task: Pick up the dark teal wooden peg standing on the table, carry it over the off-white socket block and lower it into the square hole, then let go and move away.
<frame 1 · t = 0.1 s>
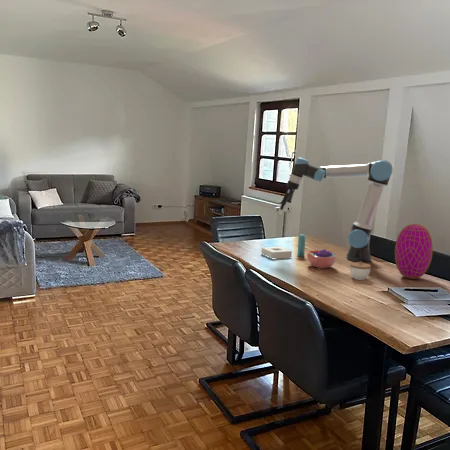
hand: (281, 212, 301), 28 cm above the table, fingers open, 13 cm apart
decorative egg: (410, 278, 261), on the table
lidded jar: (359, 278, 256), on the table
socket block: (276, 256, 302), on the table
peg: (300, 256, 305), on the table
cell model: (321, 267, 278), on the table
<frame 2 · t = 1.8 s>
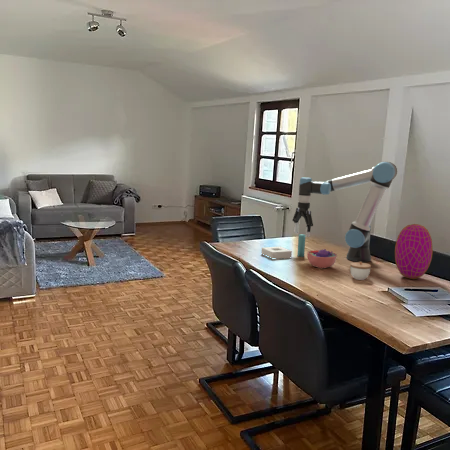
hand: (301, 234, 303), 14 cm above the table, fingers open, 13 cm apart
nothing on the table moved.
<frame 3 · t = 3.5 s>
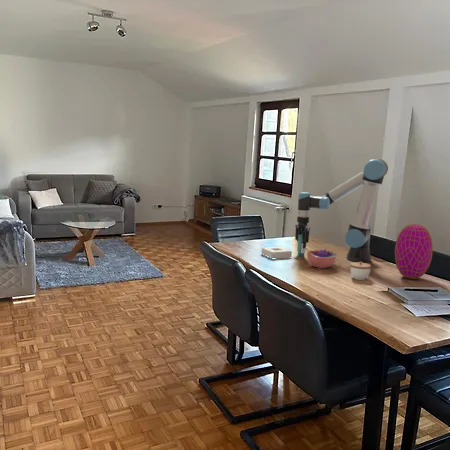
hand: (301, 252, 305), 3 cm above the table, fingers closed on peg, 4 cm apart
peg: (300, 256, 305), on the table, touching gripper
everything else where it was.
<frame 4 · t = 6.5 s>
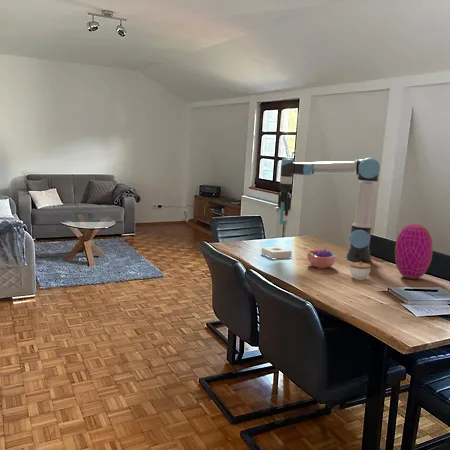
hand: (283, 219, 299), 24 cm above the table, fingers closed on peg, 4 cm apart
peg: (282, 223, 300), point 21 cm above the table, touching gripper
everything else where it was.
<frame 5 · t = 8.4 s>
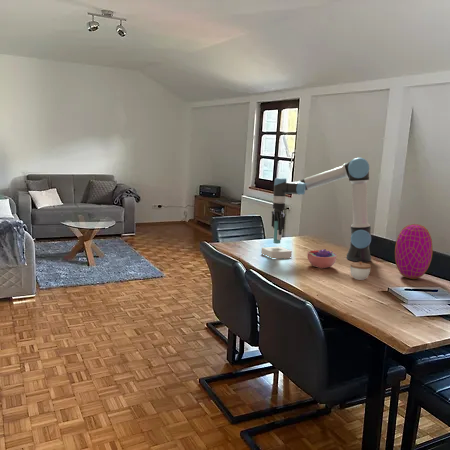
hand: (277, 238, 300), 11 cm above the table, fingers closed on peg, 4 cm apart
peg: (276, 242, 301), point 9 cm above the table, touching gripper
everything else where it was.
when the fingers open (6 cm above the table, at t = 9.7 s): peg drops 3 cm, resting in socket block.
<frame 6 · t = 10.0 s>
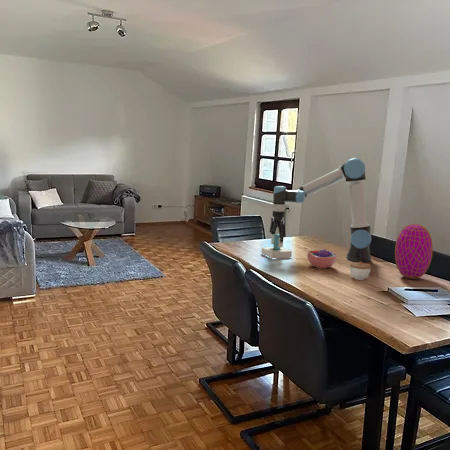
hand: (276, 245, 301), 7 cm above the table, fingers open, 9 cm apart
peg: (276, 256, 302), resting in socket block
everything else where it was.
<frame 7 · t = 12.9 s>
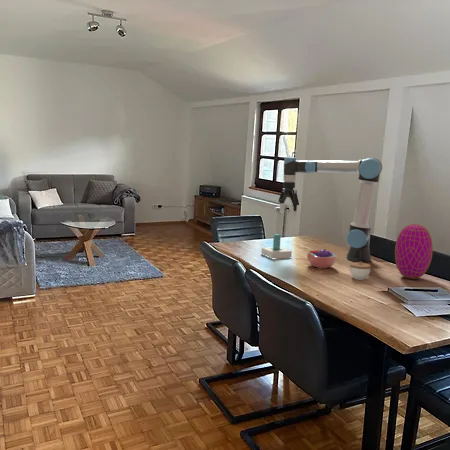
hand: (288, 214, 302), 26 cm above the table, fingers open, 13 cm apart
nothing on the table moved.
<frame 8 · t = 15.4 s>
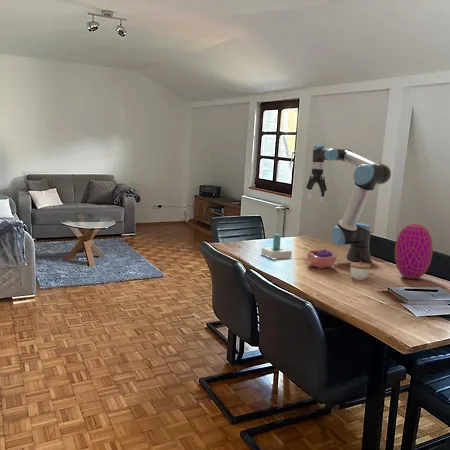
hand: (315, 200, 317), 35 cm above the table, fingers open, 13 cm apart
nothing on the table moved.
at the end: peg 0.1 cm off-centre on the socket block, point 0.0 cm above the socket block's base; peg tilted 0°; the gripper is holding nothing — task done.
